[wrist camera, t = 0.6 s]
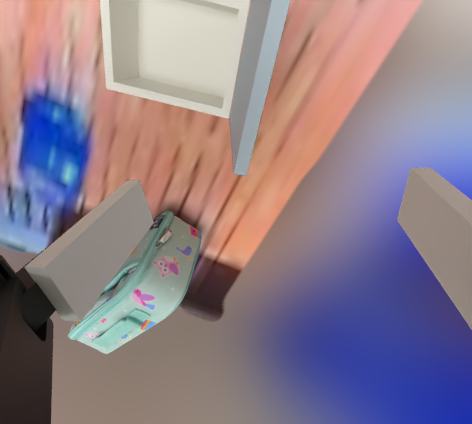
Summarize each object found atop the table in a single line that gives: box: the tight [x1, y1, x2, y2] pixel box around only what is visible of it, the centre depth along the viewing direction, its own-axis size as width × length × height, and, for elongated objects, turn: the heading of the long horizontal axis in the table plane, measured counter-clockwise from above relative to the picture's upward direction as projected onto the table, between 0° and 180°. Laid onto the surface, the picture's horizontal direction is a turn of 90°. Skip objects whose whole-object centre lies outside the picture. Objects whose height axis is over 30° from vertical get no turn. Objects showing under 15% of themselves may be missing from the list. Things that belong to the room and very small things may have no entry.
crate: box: [100, 0, 251, 119], centre depth 33 cm, size 16×12×8 cm
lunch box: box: [68, 210, 202, 354], centre depth 48 cm, size 27×10×21 cm, turn 137°
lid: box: [229, 0, 290, 176], centre depth 23 cm, size 16×12×1 cm
